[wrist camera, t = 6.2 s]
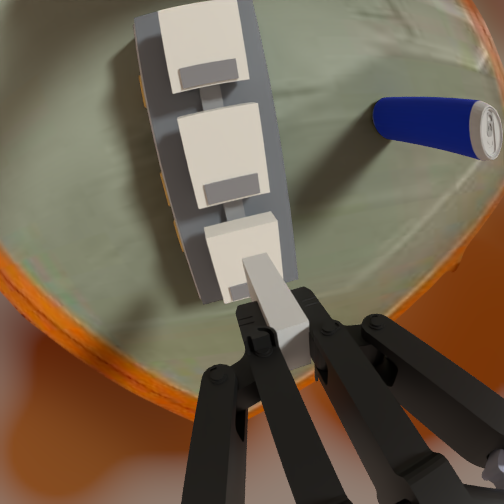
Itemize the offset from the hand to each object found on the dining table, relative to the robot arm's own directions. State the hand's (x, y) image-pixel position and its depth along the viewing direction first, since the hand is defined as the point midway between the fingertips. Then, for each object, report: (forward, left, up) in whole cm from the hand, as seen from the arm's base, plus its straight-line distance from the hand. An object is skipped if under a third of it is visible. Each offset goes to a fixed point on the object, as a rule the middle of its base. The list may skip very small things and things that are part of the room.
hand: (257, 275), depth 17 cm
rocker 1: (-16, 0, -7) cm, 17 cm away
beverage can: (-8, +20, -13) cm, 25 cm away
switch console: (-7, 0, -13) cm, 14 cm away
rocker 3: (+2, 0, -7) cm, 8 cm away
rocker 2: (-7, 0, -7) cm, 10 cm away
